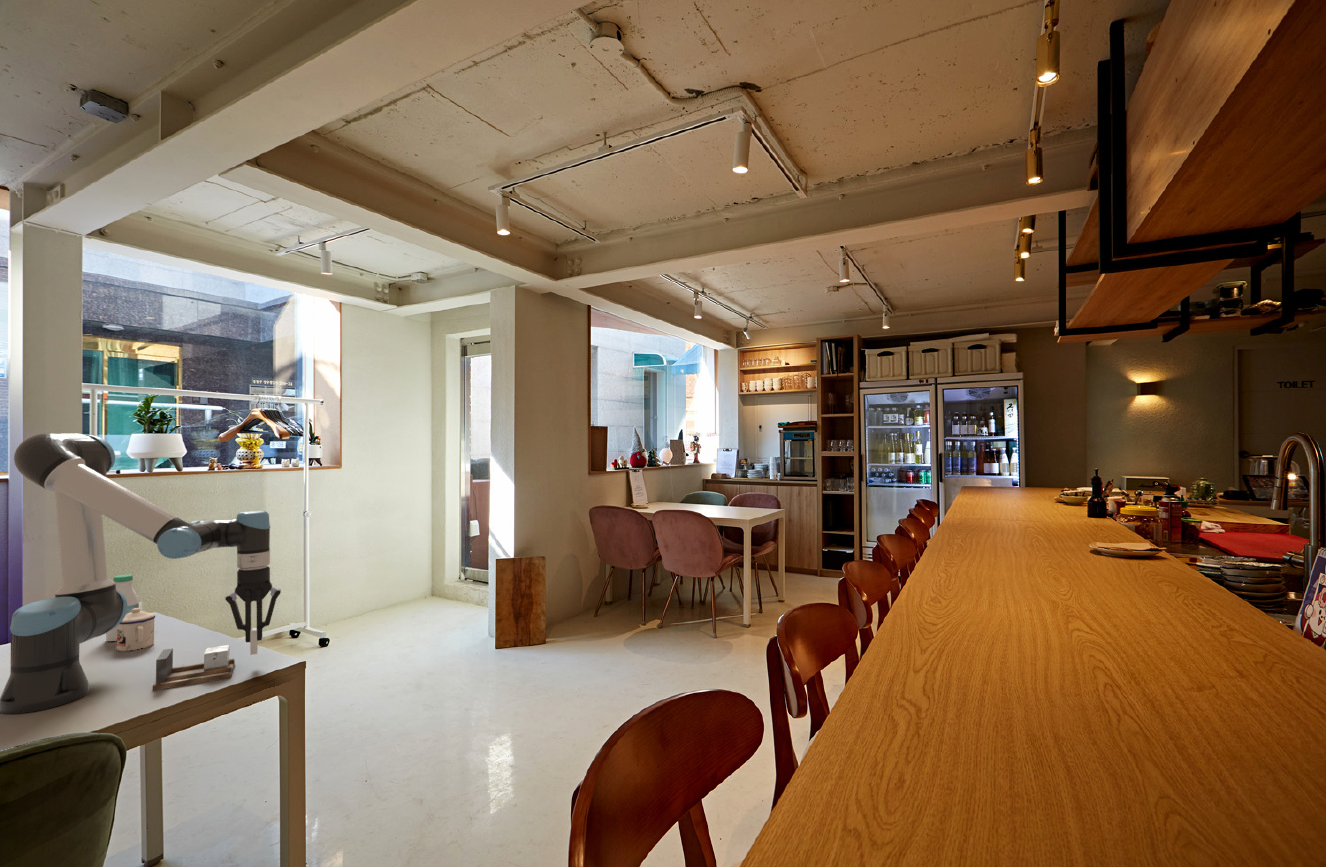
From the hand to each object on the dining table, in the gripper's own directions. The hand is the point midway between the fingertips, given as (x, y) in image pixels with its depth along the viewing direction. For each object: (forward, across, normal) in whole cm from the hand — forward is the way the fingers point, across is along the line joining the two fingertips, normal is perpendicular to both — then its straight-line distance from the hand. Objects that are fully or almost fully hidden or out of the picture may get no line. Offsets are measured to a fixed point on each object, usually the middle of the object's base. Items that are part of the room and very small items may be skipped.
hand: (254, 652), depth 166 cm
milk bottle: (+4, -38, +53) cm, 65 cm away
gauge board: (+4, -13, 0) cm, 13 cm away
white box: (+2, -8, -2) cm, 9 cm away
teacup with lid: (+4, -32, +39) cm, 50 cm away
